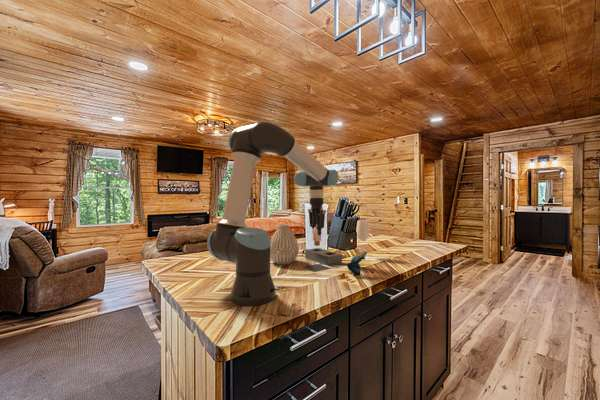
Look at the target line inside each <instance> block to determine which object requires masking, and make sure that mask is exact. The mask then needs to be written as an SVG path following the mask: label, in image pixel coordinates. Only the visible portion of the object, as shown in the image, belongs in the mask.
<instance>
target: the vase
mask: <svg viewBox="0 0 600 400" xmlns="http://www.w3.org/2000/svg"><path fill="white" fill-rule="evenodd" d="M270 244H271V245H270V261H272V262H273V263H274V264H276V265H281V266H282V265H285V266H286V265H290V264H293V262H295V260H296V259H297V258H298V255H299V249H300V248H299V242H298V240H297V238H296V236H295V234H294V233H293V232H292V230H291V229H290V226H289V224H287V223H282V224H278V225H277V227H276V230H275V231H274V233H273V234H272V236H271V238H270Z"/></svg>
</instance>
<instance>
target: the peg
mask: <svg viewBox="0 0 600 400" xmlns="http://www.w3.org/2000/svg"><path fill="white" fill-rule="evenodd" d="M316 228H317V227H314V240H313V244H314V246H315V247H319V246H320V245H321V241H316Z"/></svg>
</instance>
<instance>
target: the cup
mask: <svg viewBox="0 0 600 400" xmlns="http://www.w3.org/2000/svg"><path fill="white" fill-rule="evenodd" d="M370 231H371V230H370V220H369V219H368V220H367V219H359V220H357V222H356V233H357V237H358V239H359V240H360V241H361V242H365V241H367V239H369V236H370Z"/></svg>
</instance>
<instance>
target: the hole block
mask: <svg viewBox="0 0 600 400" xmlns="http://www.w3.org/2000/svg"><path fill="white" fill-rule="evenodd" d="M305 259H307V260H310V261H313V262H316V263H317V264H320V265H323V266H326V267H331V266H335V265H340V264H341V265H342V264H343V254H342V253H340V252H339V253H338V252H335V251H332V250H328V249H325V248H320V247H316V248H308V249H305Z"/></svg>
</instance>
